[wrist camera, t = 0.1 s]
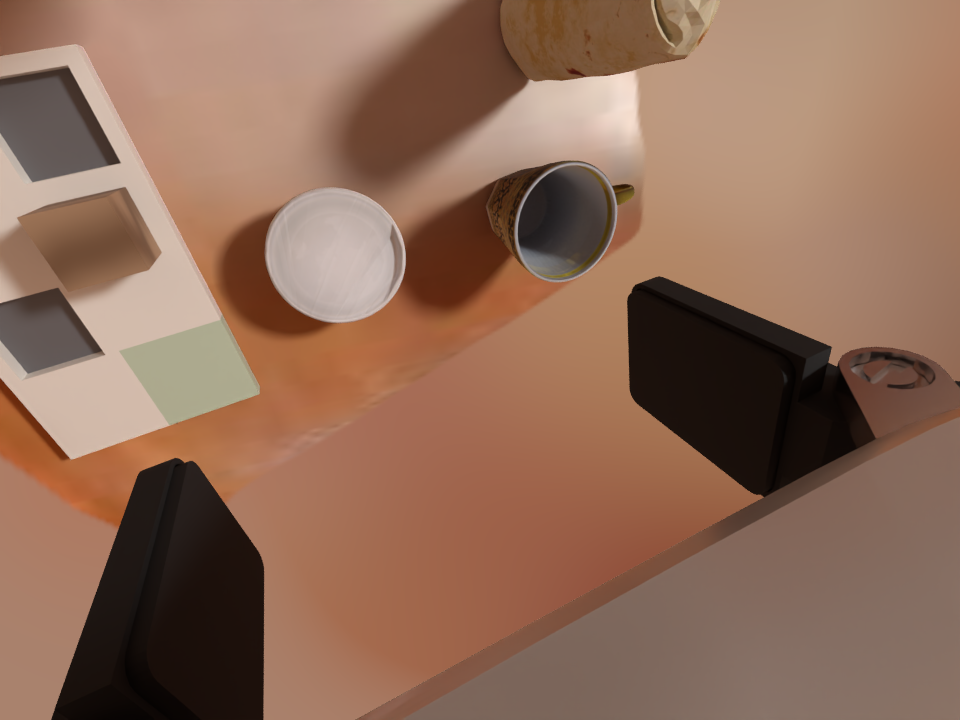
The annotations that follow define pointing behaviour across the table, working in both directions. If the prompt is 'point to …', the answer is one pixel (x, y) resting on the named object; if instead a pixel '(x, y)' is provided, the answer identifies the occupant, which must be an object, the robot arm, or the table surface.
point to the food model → (600, 34)
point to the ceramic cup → (556, 217)
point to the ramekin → (335, 255)
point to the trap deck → (106, 306)
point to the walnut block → (92, 238)
